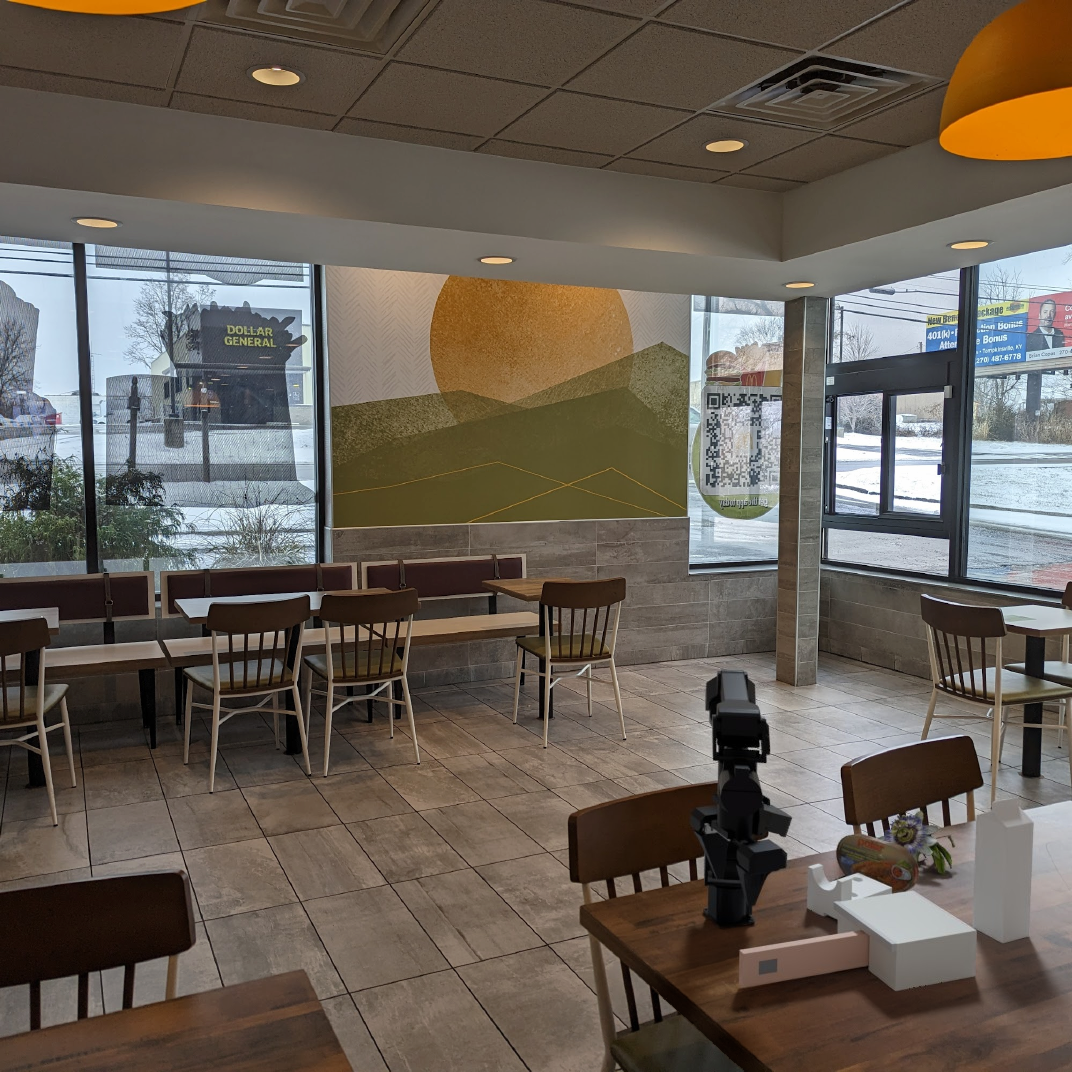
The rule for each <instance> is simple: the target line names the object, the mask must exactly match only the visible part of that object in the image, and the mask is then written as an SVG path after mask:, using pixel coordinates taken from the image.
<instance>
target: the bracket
mask: <svg viewBox="0 0 1072 1072" xmlns="http://www.w3.org/2000/svg"><path fill="white" fill-rule="evenodd" d="M887 894H892V887H890V886H887V885H885V884H883V883H880V882H878V881H876V880H873V879H871V878H869V877H867V876H864V875H862V874H860V873H856V874H853V875H850V876H845V877H842V878H838V879H836V880H832V881H830V880H829V879H828V878H827V877H826V874H825V872H824V865H822V863H816V864H812V865H809V866H808V867H807V894H806V897H807V901H806V909H807V908H808V911H811V910H812V911H811V912H814V913H815V914H817V915H820V916H822V917H826V916H829V917H831V918H833V919H835V920H837V921H838V912H837V911H835V910H834V902H836V901H839V902H841V901H847V900H854V899H860V898H867V897H874V896H880V895H887Z"/></svg>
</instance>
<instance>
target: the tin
mask: <svg viewBox="0 0 1072 1072" xmlns="http://www.w3.org/2000/svg"><path fill="white" fill-rule="evenodd" d="M877 838H878V837H877ZM877 838H876V837H873V836H870V835H867V834H863V833H853V834H848V835H846V836H843V837H842V838H841V839H840V840H839V841H838V844H837V845H836V851H835V855H836V856H835V857H836V862H837V864H838V866H839V868H840V870H841V872H842V873H843V874H844V875H845V877H847V876H850V875H853V874H856V873H860V874H862V875H864V876H867V877H869V878H871V879H873V880H876V881H878V882H880V883H883V884H885V885H887V886H890V887H892V894H893V893H900V892H907V891H911V889H912V888H914V887H915V886H916V884H917V882H918V880H919V879H918V878H919V866H918V864H917V862H916V860H915V858H914V857H913V855H912V854H911V853H910V852H909V851H908V850H907V849H906V848H904V847H902V846H900V845H897V844H894V843H890V842H887V841H884V840H880V839H877Z"/></svg>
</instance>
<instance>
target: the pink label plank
mask: <svg viewBox="0 0 1072 1072" xmlns="http://www.w3.org/2000/svg"><path fill="white" fill-rule="evenodd" d="M869 941H870V936H869V935H868V934H866V933H865V932H864V931H862V930H859V931H853V932H847V933H841V934H837V933H836V934H830V935H823V936H818V937H817V936H816V937H811V938H805V939H798V940H794V941H793V940H792V941H787V942H781V943H773V944H767V945H761V946H755V947H750V948H744V949H739V956H738V957H739V958H738V959H739V960H738V963H739V967H738V984H739V985H740V986H741V987H742V989H743V988H749V987H753V986H761V985H766V984H771V983H777V982H782V981H784V982H785V981H788V980H789V981H790V980H795V979H800V978H806V977H810V976H811V977H812V976H816V975H817V976H818V975H823V974H829V973H834V972H841V971H845V970H851V969H858V968H862V967H867V966H868V967H869Z"/></svg>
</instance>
